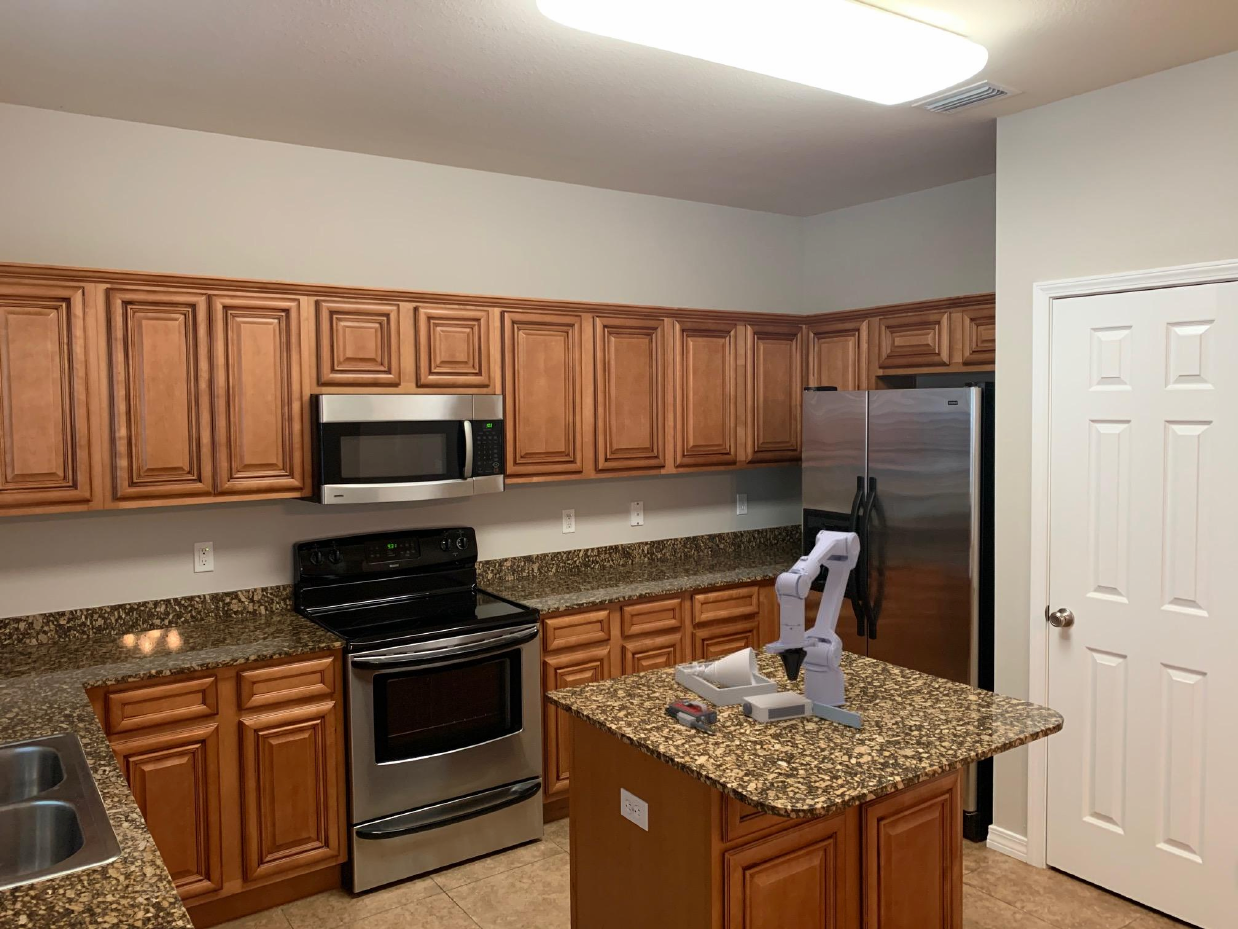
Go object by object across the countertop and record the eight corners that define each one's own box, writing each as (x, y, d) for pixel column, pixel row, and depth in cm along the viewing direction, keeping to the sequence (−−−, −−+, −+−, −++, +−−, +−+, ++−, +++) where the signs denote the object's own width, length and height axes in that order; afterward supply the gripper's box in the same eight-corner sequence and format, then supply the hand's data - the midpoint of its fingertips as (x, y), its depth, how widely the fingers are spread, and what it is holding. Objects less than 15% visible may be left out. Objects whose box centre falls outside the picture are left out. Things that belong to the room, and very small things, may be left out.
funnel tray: (730, 674, 261) (730, 660, 261) (777, 698, 238) (777, 683, 238) (675, 680, 255) (675, 666, 255) (717, 706, 232) (717, 690, 232)
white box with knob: (791, 704, 233) (791, 691, 233) (811, 715, 224) (812, 701, 224) (738, 712, 227) (738, 698, 227) (757, 723, 219) (757, 708, 219)
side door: (812, 714, 224) (812, 702, 223) (817, 713, 225) (817, 701, 224) (859, 728, 213) (859, 715, 213) (863, 727, 214) (863, 714, 214)
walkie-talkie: (657, 716, 226) (711, 739, 210) (657, 698, 226) (711, 719, 209) (685, 709, 231) (740, 731, 215) (685, 692, 231) (740, 712, 214)
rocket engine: (681, 645, 248) (748, 639, 243) (693, 667, 256) (758, 661, 251) (680, 684, 240) (748, 679, 235) (691, 705, 248) (758, 700, 243)
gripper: (804, 617, 229) (804, 671, 230) (757, 623, 222) (757, 680, 223) (824, 622, 223) (824, 678, 224) (776, 629, 216) (776, 687, 217)
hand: (792, 679), depth 223 cm, fingers closed
